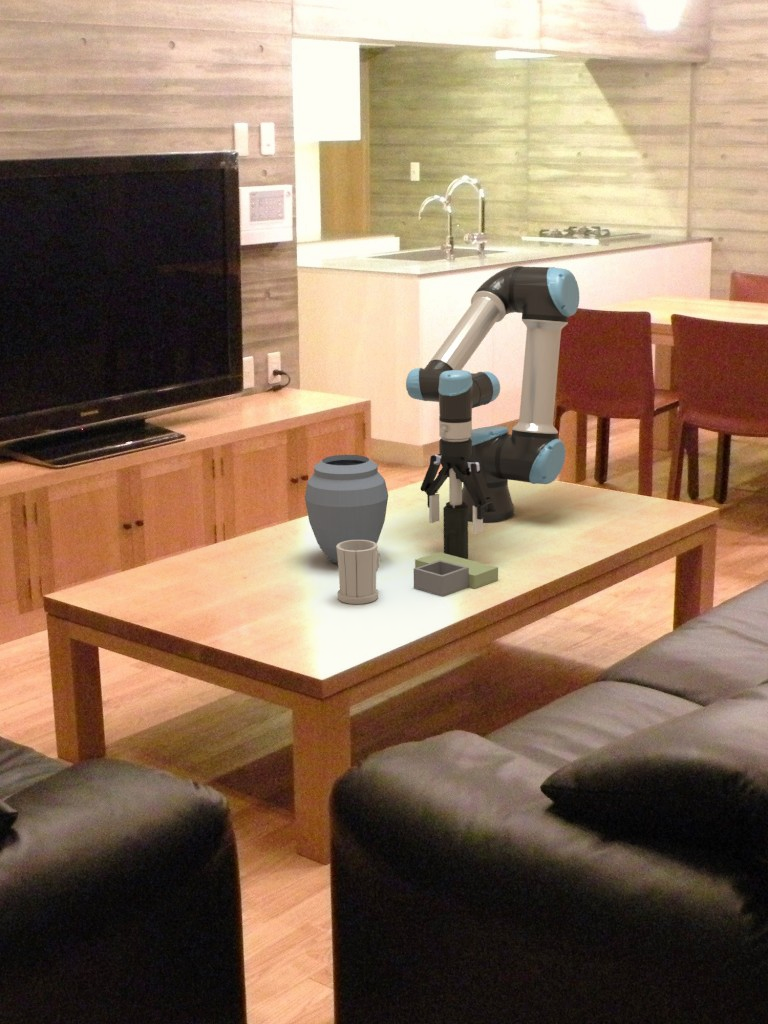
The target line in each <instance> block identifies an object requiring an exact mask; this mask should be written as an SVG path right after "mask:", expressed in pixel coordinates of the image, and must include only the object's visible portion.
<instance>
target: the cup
mask: <svg viewBox="0 0 768 1024" xmlns="http://www.w3.org/2000/svg"><path fill="white" fill-rule="evenodd" d="M378 546H379V545H378V543H377V544H376V543H375V542H372V541H368V540H349V541H344V542H341V543H339V544H337V546H336V548H337V557H338V564H337V565H338V580H339V581H338V582H339V590H338V591H337V599H338V600H339V601H341V602H342V603H345V604H350V605H366V604H369V603H370V604H371V603H373V602H375V601H376V600H377V599H378V598H379V590H378V589H377V572H378V571H379V568H380V557H381V555H380V552H379V550H378Z"/></svg>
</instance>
